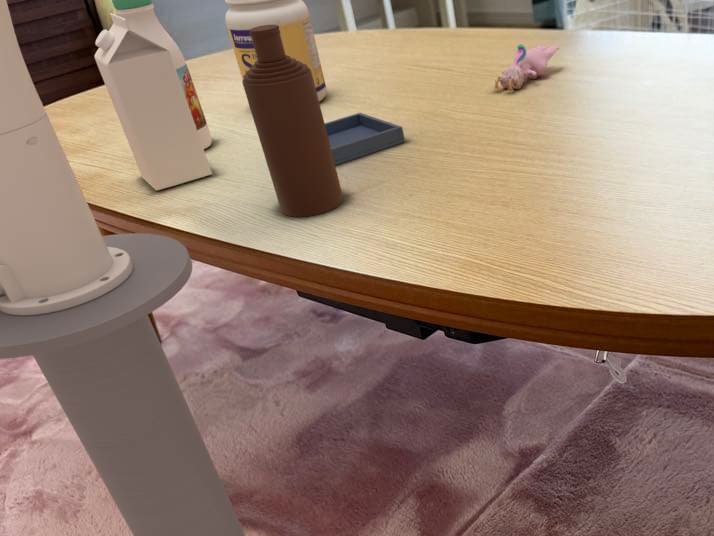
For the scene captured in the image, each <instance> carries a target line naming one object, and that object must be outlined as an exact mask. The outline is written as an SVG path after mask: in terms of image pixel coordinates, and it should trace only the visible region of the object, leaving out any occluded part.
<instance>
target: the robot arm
mask: <svg viewBox="0 0 714 536" xmlns="http://www.w3.org/2000/svg"><path fill="white" fill-rule="evenodd" d="M12 21H13V20H12V16H11V13H10V9H9V6H8V2H7V0H0V311H2V312H4V313H7V314H11V315H20V316H30V315H41V314H48V313H53V312H57V311H62V310H66V309H69V308H72V307H76V306H79V305H81V304H84V303H87V302H90V301H92V300H94V299H96V298H98V297H101V296H103V295H104V294H106V293H108V292H110V291H112V290H113V289H115V288H116V287H118V286H119V285H121V284H122V283H123V282H124V281H125V280H126V279H127V278H128V277H129V275H130V274H131V272H132V269H133V263H132V261H131V259H130V257H129V254H128V253H126V252H125V251H124V250H121V249H118V248H113V247H107V246H106V244H105V241H104V239H103V237H102V236H103V235H102V233H101V230H100V227H99V226H98V224H97V222H96V220H95V217H94V215H93V213H92V210H91V208H90V206H89V203H88V201H87V200H86V197H85V195H84V192H83V191H82V188H81V186H80V184H79V182H78V179H77V177H76V175H75V173H74V171H73V168H72V166H71V164H70V162H69V159H68V158H67V155H66V153H65V150H64V148H63V146H62V144H61V142H60V140H59V137H58V135H57V133H56V131H55V129H54V126H53V124H52V122H51V119H50V117H49V115H48V113H47V111H46V109H45V107H44V105H43V102H42V100H41V98H40V96H39V93H38V91H37V89H36V87H35V84H34V82H33V80H32V77H31V74H30V72H29V69H28V67H27V64H26V63H25V59H24V57H23V54H22V51H21V48H20V45H19V42H18V39H17V36H16V33H15V28H14V25H13V22H12Z"/></svg>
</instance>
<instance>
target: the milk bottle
mask: <svg viewBox="0 0 714 536" xmlns="http://www.w3.org/2000/svg"><path fill="white" fill-rule="evenodd" d="M111 3H112V6H113V7H114V9H115V13H116V15H118V16H119V17H122V18H124V19H126V21H127V24H128V27H129V29H130V30H131V31H133V32H135V33H137V34H139V35H141V36H142V37H144V38H146V39H148V40H150V41H152V42H154V43H156V44H158V45H160V46H162V47H163V48H165V49H167V50H169V51H170V54H171V56H172V59H173V62H174V65H175V68H176V71H177V74H178V77H179V80H180V82H181V85H182V88H183V91H184V94H185V97H186V100H187V103H188V106H189V108H190V111H191V114H192V117H193V120H194V123H195V126H196V129H197V132H198V134H199V137H200V140H201V143H202V146H203V149H204V150H205V149H208V147H211V145H212V143H213V138H212V135H211V132H210V128H209V125H208V122H207V119H206V117H205V114H204V110H203V108H202V104H201V101H200V98H199V96H198V93H197V90H196V87H195V84H194V81H193V78H192V76H191V72H190V70H189V67H188V65H187V61H186V59H185V57H184V54H183V53H182V51H181V49H180V47H179V46H178V44H177V43H176V41H175V40H174V39H173V38H172V37H171V36H170V34H169V33H168V32H167V31H166V30H165V28H164V27H163V25H162V23H161V22H160V21H159V19H158V17H157V15H156V13H155V11H154V8H155V6H154V3H153V0H111Z"/></svg>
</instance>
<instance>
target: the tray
mask: <svg viewBox="0 0 714 536" xmlns="http://www.w3.org/2000/svg"><path fill="white" fill-rule="evenodd" d="M324 123H325V127H326V131H327V135H328V139H329V143H330V147H331V151H332V155H333V159H334V163H335V166H337V165H341V164H343V163H347V162H349V161H352V160H355V159H358V158H361V157H365V156H367V155H370V154H373V153H375V152H379V151H382V150H385V149H388V148H391V147H394V146H396V145H397V146H398V145H399V144H402V143H406V140H405V135H404V130H403V126H401V125H398V124H395V123H392V122H390V121H386V120H383V119H380V118H378V117H375V116H371V115H368V114H365V113H362V112H357V113H353V114H351V115H347V116H344V117H342V118H338V119H335V120H331V121H328V122H324Z"/></svg>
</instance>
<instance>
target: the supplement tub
mask: <svg viewBox="0 0 714 536" xmlns="http://www.w3.org/2000/svg"><path fill="white" fill-rule="evenodd" d="M224 2H225V4H226V5H228V6H229V8H228V9H227V11H226V13H225V16H224V19H225V25H226V28H227V32H228V35H229V39H230V43H231V45H232V48H233V52H234V56H235V59H236V62H237V65H238V69H239V73H240V76H241V79H242V80H243V79H244V78H243V76H244V75H245V74H246V73H247V71H248V70H249V69H251V66H252V65H254V64H255V61H257V60H258V59H257V55H256V52H255V48H254V45H253V41H252V38H251V36H250V29H252V28H254V27H258V26H263V25H277V26H279V30H280V36H281V39H282V43H283V47H284V51H285V54H286V55H288V56H290V58H294V59H296V61H300V62H302V63H303V64H306V65H307V66H308V68H310V69H311V72H312V76H313V80H314V84H315V88H316V92H317V96H318V100H319V103H320V102H321V101H322V100H323V99H324V98H326V95H327V84H326V80H325V76H324V71H323V68H322V62H321V59H320V55H319V50H318V47H317V46H318V45H317V43H316V38H315V33H314V29H313V25H312V22H311V21H312V20H311V17H310V11H309V9H308V6H307V5H306V3H305V2H304V1H303V0H224Z"/></svg>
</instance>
